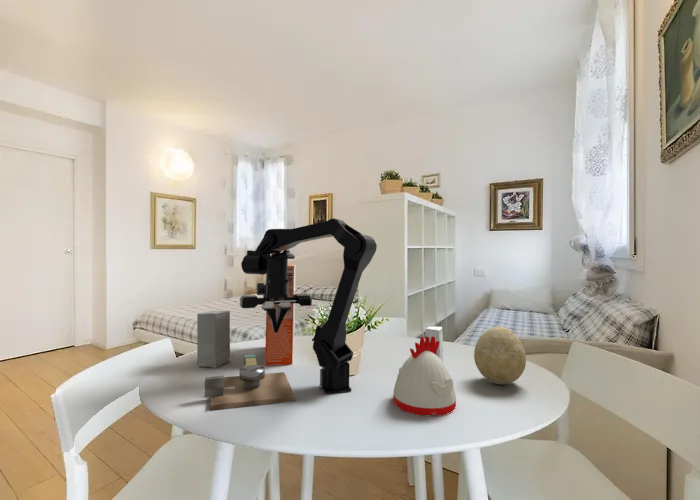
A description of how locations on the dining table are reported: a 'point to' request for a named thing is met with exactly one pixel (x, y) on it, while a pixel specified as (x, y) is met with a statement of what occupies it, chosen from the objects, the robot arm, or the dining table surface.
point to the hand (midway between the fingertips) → (275, 332)
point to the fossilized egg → (500, 355)
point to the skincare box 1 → (213, 338)
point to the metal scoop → (251, 369)
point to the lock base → (247, 391)
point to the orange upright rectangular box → (282, 330)
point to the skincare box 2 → (436, 338)
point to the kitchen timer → (424, 382)
